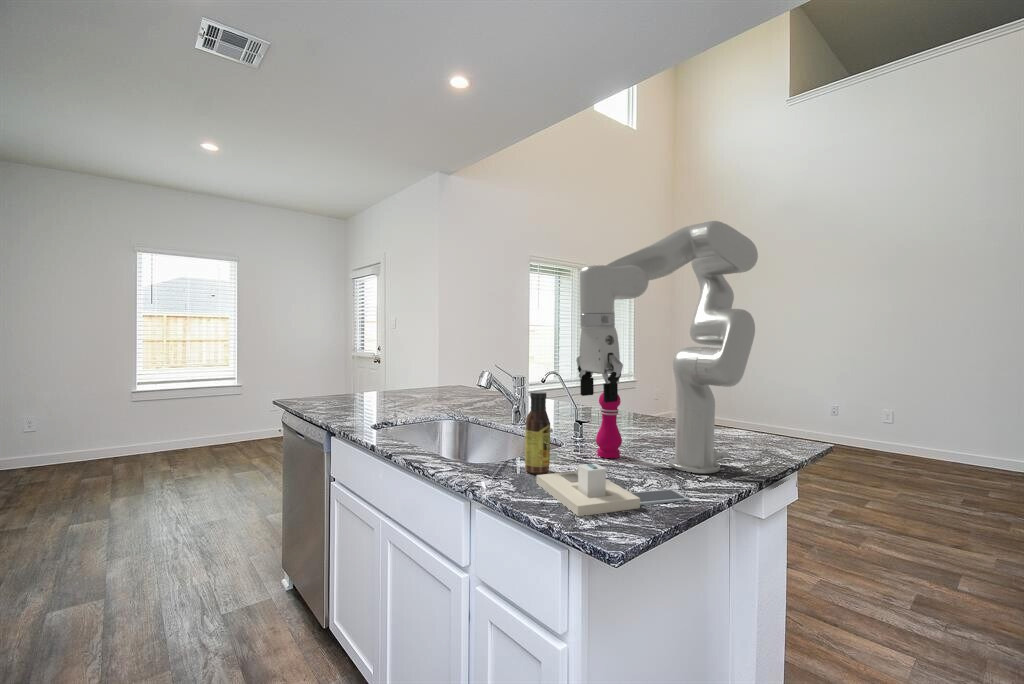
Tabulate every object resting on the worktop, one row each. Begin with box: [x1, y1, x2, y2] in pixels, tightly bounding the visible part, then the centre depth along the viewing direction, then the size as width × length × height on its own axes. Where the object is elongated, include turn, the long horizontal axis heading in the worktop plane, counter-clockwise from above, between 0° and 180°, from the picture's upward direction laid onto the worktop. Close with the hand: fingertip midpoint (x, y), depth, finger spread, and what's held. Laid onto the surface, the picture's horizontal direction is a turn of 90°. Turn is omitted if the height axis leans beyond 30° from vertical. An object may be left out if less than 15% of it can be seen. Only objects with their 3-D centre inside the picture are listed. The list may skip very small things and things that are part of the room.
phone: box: [630, 488, 690, 506], centre depth 100 cm, size 12×6×1 cm, turn 106°
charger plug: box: [577, 463, 607, 498], centre depth 98 cm, size 4×4×7 cm
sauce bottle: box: [524, 391, 551, 475], centre depth 117 cm, size 6×6×20 cm
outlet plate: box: [536, 470, 641, 517], centre depth 101 cm, size 14×20×2 cm
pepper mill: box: [595, 392, 623, 459], centre depth 133 cm, size 7×7×20 cm
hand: (598, 398), depth 105 cm, fingers open, 9 cm apart
